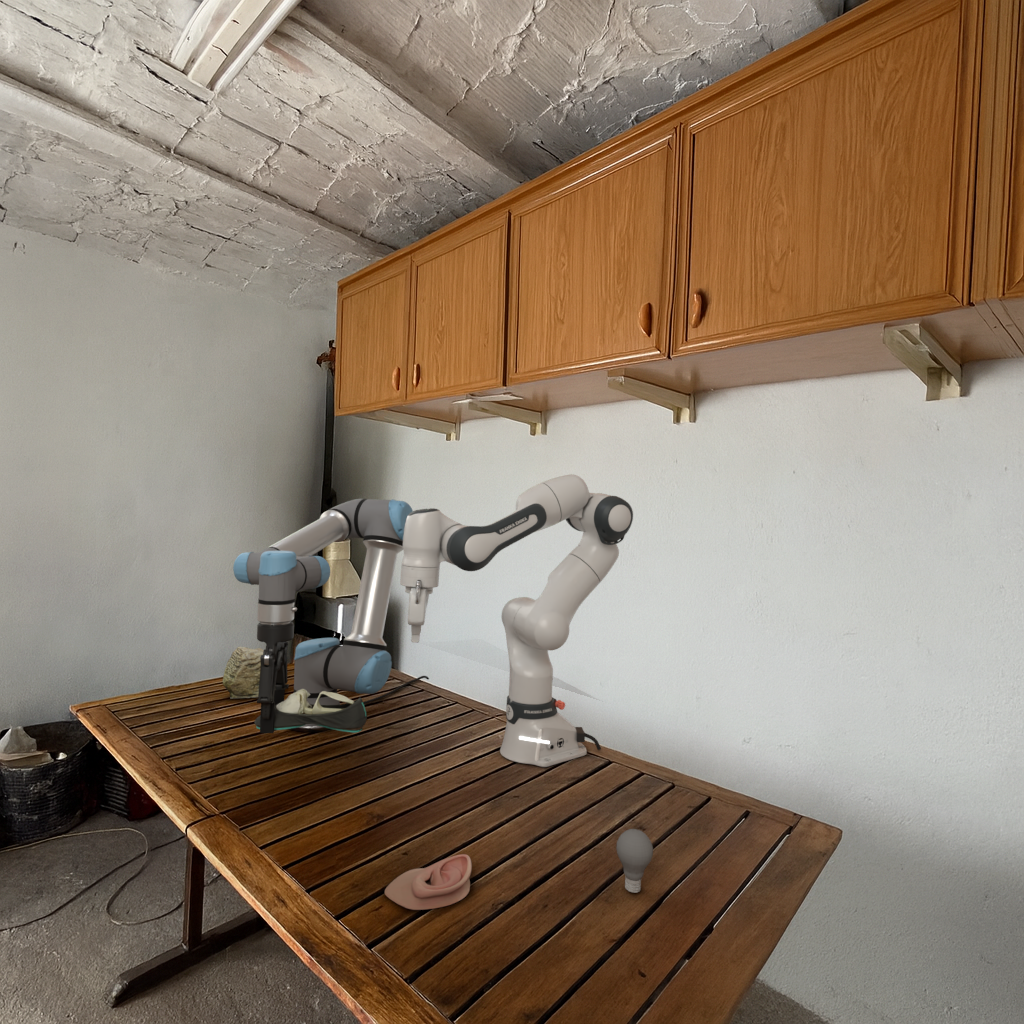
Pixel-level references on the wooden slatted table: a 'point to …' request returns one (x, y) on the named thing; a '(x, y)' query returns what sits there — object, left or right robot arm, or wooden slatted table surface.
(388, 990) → the wooden slatted table surface
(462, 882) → the anatomical model
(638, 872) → the light bulb
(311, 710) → the ballet flat
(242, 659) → the fossil
